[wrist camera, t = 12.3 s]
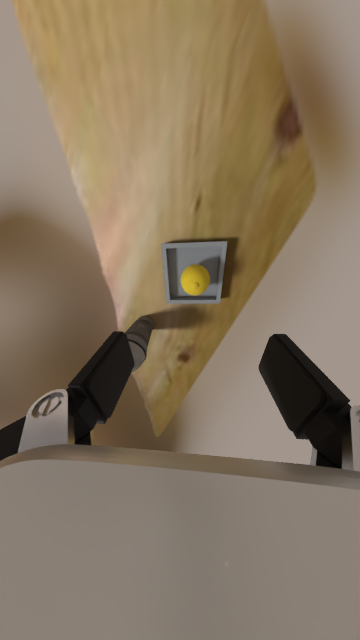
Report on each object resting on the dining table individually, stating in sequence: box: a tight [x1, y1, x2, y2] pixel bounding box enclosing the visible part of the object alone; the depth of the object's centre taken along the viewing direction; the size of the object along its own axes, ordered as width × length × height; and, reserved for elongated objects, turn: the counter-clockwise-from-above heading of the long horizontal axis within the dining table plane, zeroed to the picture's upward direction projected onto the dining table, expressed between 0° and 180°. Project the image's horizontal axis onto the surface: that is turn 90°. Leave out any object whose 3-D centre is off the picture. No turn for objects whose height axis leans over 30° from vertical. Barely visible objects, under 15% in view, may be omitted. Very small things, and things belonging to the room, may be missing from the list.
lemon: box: [181, 264, 210, 296], centre depth 26 cm, size 6×6×8 cm
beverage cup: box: [124, 316, 153, 372], centre depth 29 cm, size 7×7×20 cm
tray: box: [161, 241, 227, 303], centre depth 29 cm, size 12×12×2 cm
